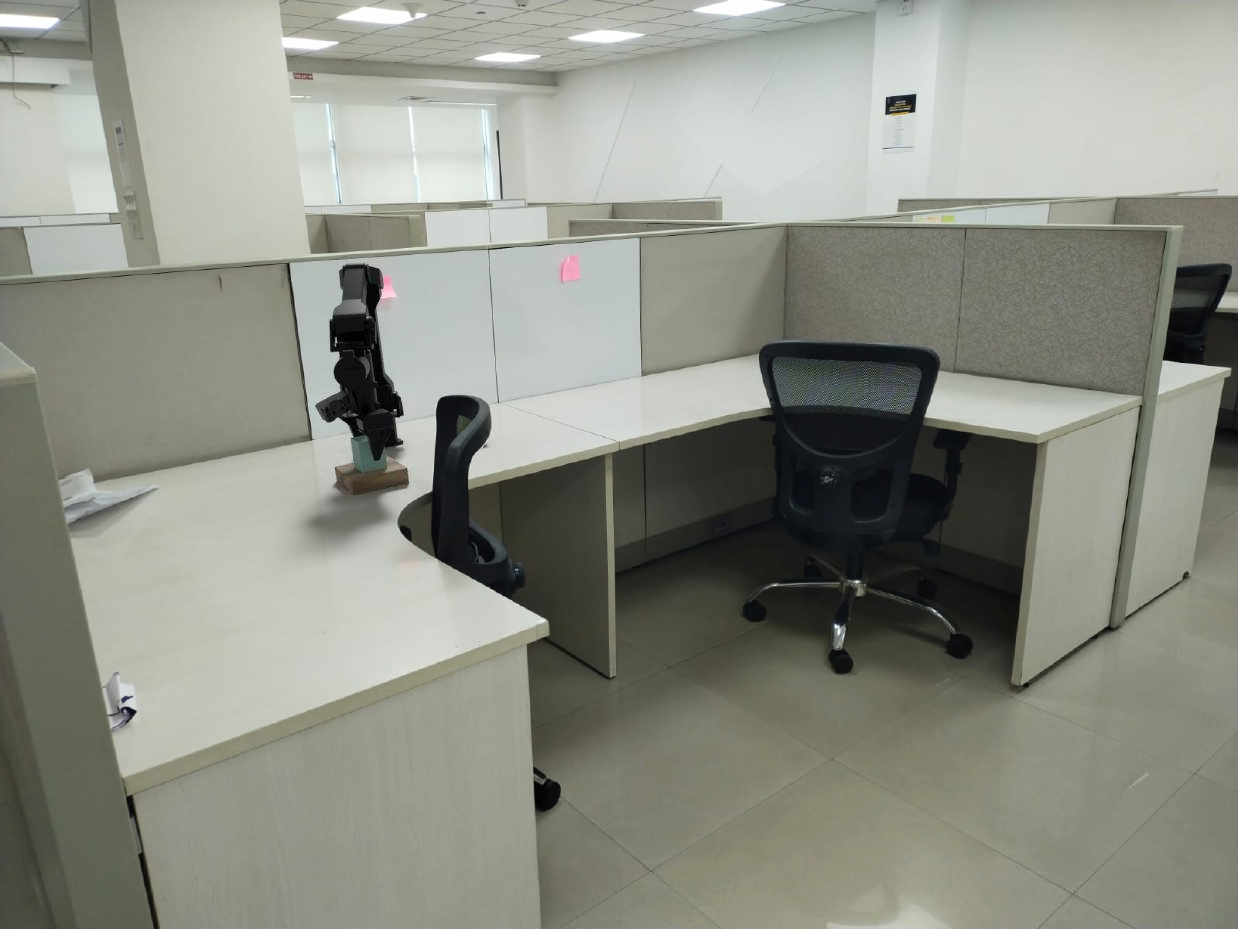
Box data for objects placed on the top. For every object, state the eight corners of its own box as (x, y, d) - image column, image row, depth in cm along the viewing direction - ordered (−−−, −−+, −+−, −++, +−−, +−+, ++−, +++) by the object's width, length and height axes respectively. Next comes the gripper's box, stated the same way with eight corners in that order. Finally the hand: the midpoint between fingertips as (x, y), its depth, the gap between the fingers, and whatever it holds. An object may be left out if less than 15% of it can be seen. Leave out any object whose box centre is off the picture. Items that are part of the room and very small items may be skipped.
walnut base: (336, 480, 176) (334, 466, 175) (389, 469, 182) (387, 455, 181) (354, 494, 168) (352, 479, 167) (409, 482, 173) (407, 468, 172)
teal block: (354, 466, 175) (350, 437, 173) (378, 461, 177) (375, 433, 175) (362, 472, 171) (358, 443, 169) (387, 467, 173) (383, 438, 171)
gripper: (302, 376, 172) (314, 453, 176) (331, 392, 157) (343, 475, 162) (358, 368, 178) (368, 442, 182) (391, 382, 163) (401, 462, 167)
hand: (369, 455), depth 173 cm, fingers open, 9 cm apart
